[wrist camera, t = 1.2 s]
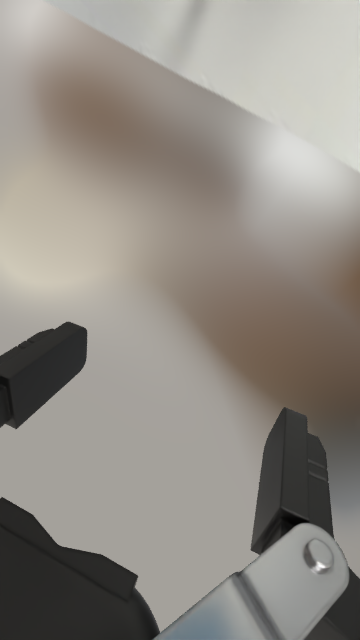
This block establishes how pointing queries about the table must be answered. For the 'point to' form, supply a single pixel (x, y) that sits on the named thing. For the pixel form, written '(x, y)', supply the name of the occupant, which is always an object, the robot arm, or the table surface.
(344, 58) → the table surface
